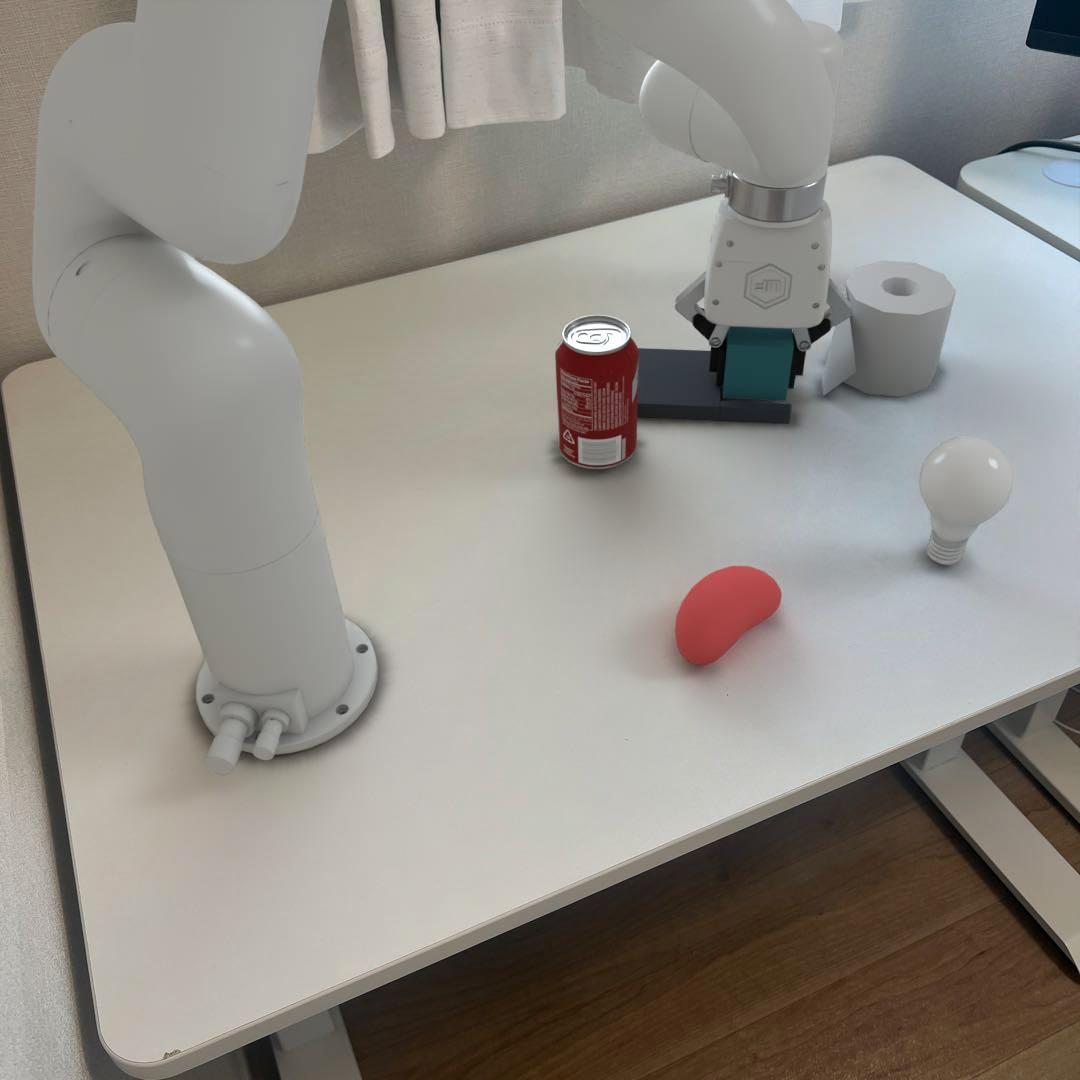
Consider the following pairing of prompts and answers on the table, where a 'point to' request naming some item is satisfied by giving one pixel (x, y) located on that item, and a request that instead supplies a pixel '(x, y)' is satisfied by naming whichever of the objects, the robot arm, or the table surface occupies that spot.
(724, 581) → the red kidney bean
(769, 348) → the teal cube
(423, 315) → the table surface
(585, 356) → the soda can
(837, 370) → the toilet tissue
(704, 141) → the robot arm
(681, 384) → the dark grey u-shaped block
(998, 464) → the lightbulb
